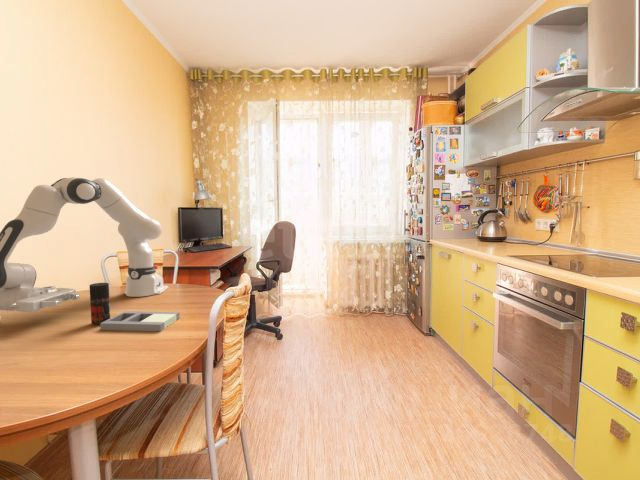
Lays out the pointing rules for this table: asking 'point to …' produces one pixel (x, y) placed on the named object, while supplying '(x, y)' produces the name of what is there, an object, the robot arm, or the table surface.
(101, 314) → the deodorant
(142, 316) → the board
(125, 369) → the table surface
